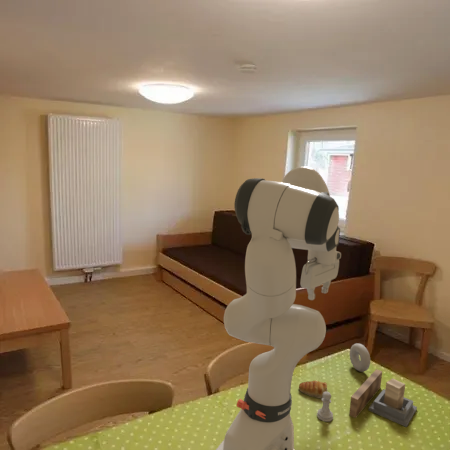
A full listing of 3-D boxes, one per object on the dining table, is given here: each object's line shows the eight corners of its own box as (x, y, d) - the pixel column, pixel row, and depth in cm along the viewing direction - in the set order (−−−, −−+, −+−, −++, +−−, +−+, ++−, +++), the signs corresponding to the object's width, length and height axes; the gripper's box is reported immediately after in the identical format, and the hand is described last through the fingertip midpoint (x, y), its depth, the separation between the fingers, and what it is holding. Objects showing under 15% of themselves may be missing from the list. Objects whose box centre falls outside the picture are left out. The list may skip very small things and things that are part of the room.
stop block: (396, 413, 114) (399, 388, 112) (383, 406, 117) (386, 382, 115) (402, 408, 116) (405, 384, 115) (389, 401, 119) (392, 378, 118)
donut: (370, 376, 135) (373, 350, 134) (362, 377, 134) (365, 351, 133) (354, 362, 145) (356, 338, 143) (346, 363, 144) (348, 339, 142)
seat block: (406, 427, 109) (407, 417, 109) (368, 410, 116) (369, 401, 116) (416, 409, 117) (417, 400, 117) (380, 395, 124) (381, 386, 124)
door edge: (355, 418, 112) (357, 399, 111) (349, 414, 113) (351, 396, 112) (380, 387, 129) (382, 371, 128) (374, 385, 130) (376, 369, 129)
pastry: (298, 396, 122) (299, 385, 122) (298, 384, 129) (299, 374, 128) (328, 400, 120) (329, 389, 120) (326, 389, 127) (327, 378, 126)
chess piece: (335, 421, 110) (338, 396, 109) (320, 422, 109) (322, 397, 108) (329, 411, 115) (331, 387, 113) (314, 412, 114) (316, 387, 113)
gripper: (315, 262, 114) (312, 306, 116) (343, 252, 129) (339, 291, 131) (297, 258, 118) (294, 300, 120) (326, 249, 133) (323, 287, 135)
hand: (318, 295), depth 126 cm, fingers open, 8 cm apart
